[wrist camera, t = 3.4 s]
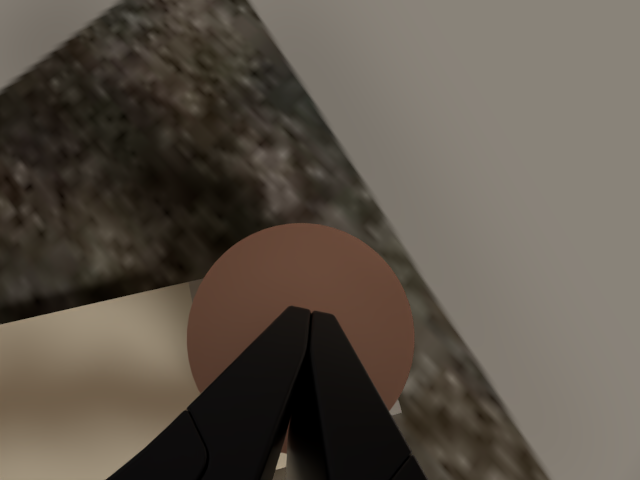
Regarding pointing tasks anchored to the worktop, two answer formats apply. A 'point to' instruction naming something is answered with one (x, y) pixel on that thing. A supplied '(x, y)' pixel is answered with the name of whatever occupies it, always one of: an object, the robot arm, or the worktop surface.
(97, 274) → the worktop surface
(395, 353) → the terracotta key
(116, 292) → the worktop surface
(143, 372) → the stand
